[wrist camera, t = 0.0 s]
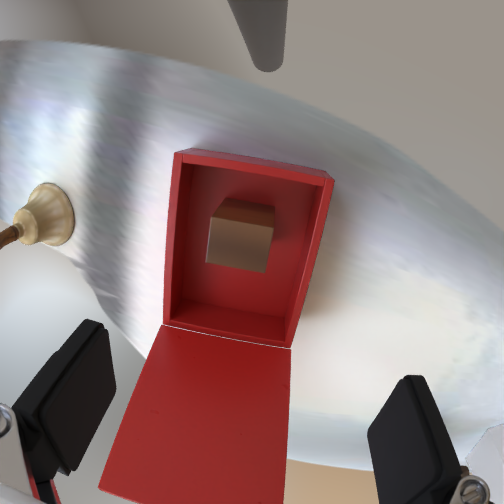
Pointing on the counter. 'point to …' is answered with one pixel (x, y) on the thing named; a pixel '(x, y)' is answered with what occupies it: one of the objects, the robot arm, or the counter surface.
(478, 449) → the milk
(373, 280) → the counter surface
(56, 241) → the hand bell
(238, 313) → the red shallow rectangular box
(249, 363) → the lid
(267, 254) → the block
